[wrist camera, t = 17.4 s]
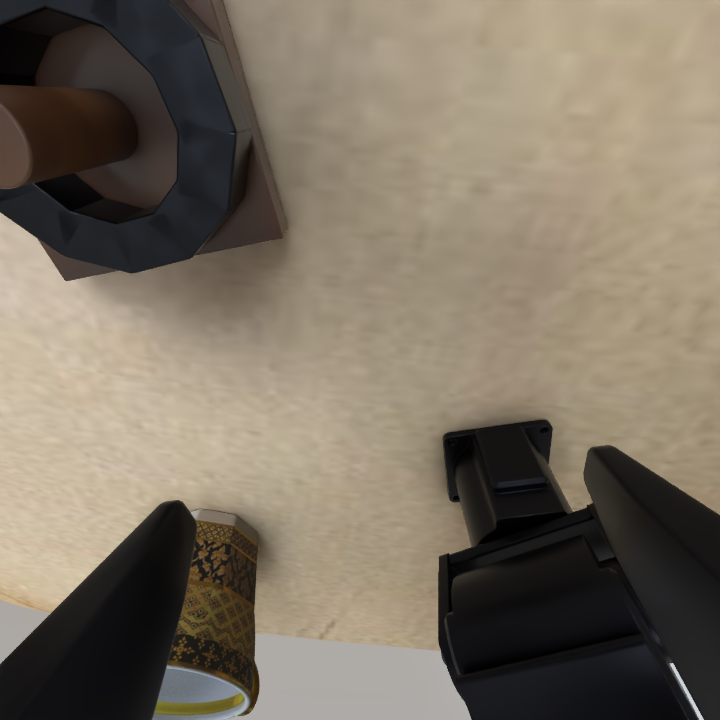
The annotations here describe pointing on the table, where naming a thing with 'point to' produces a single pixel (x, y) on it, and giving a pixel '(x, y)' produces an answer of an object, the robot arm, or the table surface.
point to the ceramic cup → (215, 627)
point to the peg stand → (120, 134)
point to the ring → (188, 112)
